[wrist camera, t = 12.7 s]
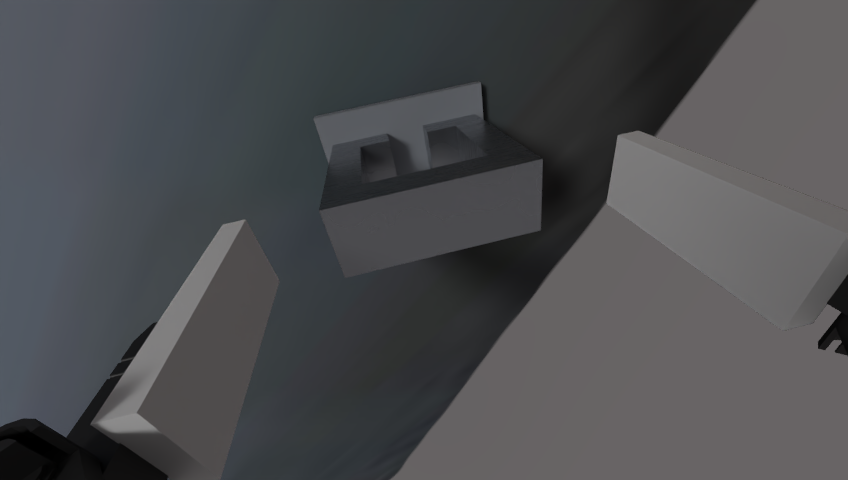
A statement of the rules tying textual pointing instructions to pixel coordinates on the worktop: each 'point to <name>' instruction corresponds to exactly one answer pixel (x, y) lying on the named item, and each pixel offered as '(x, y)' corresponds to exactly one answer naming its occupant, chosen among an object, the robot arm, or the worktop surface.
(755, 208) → the robot arm
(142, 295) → the worktop surface
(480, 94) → the pad
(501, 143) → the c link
